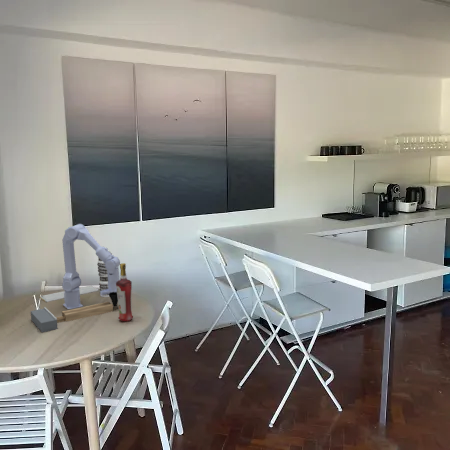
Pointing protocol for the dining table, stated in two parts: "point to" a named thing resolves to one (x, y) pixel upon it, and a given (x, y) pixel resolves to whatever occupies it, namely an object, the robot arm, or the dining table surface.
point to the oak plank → (85, 312)
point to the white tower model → (103, 276)
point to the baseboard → (61, 294)
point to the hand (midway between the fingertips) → (115, 305)
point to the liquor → (124, 295)
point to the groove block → (44, 320)
